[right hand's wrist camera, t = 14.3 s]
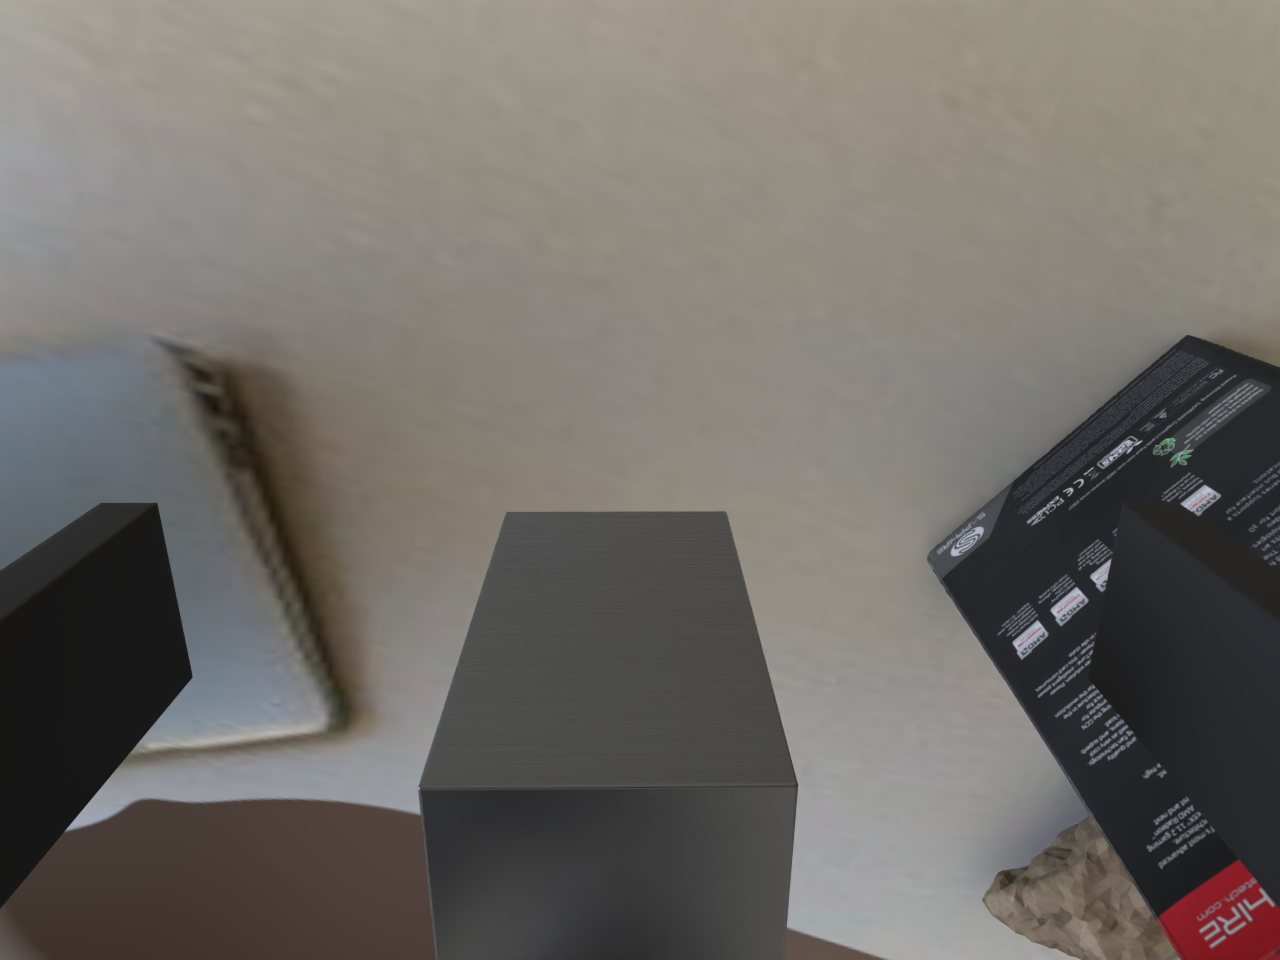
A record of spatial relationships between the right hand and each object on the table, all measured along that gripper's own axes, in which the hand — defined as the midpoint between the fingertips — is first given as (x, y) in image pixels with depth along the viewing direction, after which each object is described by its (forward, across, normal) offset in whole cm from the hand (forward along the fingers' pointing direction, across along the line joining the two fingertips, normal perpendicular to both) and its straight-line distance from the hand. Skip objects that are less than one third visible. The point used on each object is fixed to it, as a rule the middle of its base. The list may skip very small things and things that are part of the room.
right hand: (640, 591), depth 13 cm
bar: (+7, 0, -14) cm, 16 cm away
